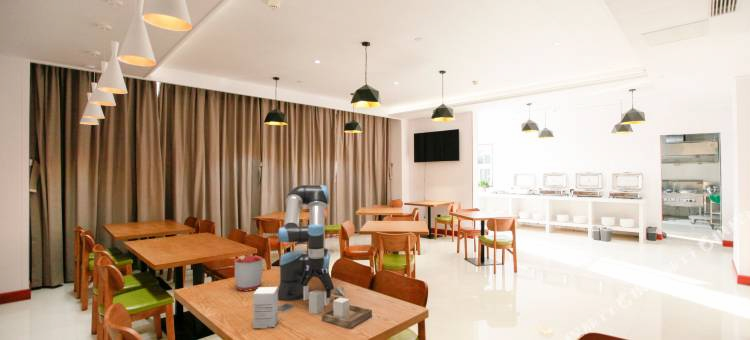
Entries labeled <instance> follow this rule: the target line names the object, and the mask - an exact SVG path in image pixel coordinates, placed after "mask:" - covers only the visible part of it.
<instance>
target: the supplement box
mask: <svg viewBox="0 0 750 340" xmlns="http://www.w3.org/2000/svg"><path fill="white" fill-rule="evenodd" d="M278 289H279V286H259V287H258V289H255V290H254V292H253V293H252V295H253V296H252V299H253V301H252V302H253V303H252V304H253V307H252V308H253V309H252V310H253V311H252V313H253V314H252V316H253V319H252V321H253V323H252V325H253V327H252V328H262V329H264V328H263V327H274V328H275V327H276V325H277V323H278V320H279V311H278V307H279V299H278Z"/></svg>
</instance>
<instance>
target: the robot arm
mask: <svg viewBox="0 0 750 340" xmlns="http://www.w3.org/2000/svg"><path fill="white" fill-rule="evenodd" d="M329 204H330V196H329V191H328V187H327V185H324V184H315V185H314V184H311V185H309V184H308V185H307V184H306V185H305V184H302V185H297V186H295V187H294V188H292V189H291V190H290V191H288V194H287V195H286V198H285V205H286V209H285V216H284V223H283V227H279V228H278V234H277V235H278V236H277V237H278V242H280V243H301V242H302V243H304V242H305V243H307V244H308V245H307V250H306V253H303V251H302V250H294V251H288V252H285V253H283V254H282V255H281V256H280V262H279V271H280V272H279V274H280V275H279V276H280V278H279V280H280V281H279V285H278V300H279V299H280V301H284V302H287V301H292V302H293V301H298V300H301V299H303V301H306V300H309V291H310V290H309V287H310V286H309V285H308V284H309V282H310V281H311V280H312V278H317V279H318V280H319V281H320V283H321V284H322V287H323V288H324V290H323V292H324V307H325V306H329V305H330V302H331V300H330V298H331V296H330V295H331V291H332V290H335V286H334V284H333V280H332V278H331V275H330V271H329V269H330V262H331V261H330V260H331V252H329V251H328V248H326V237H325V235H326V234H325V233H326V232H325V231H326V230H325V223H326V222H325V209H326V208H327V206H328V205H329ZM302 205H304V206H305V205H306V207H307V209H308V210H309V225H308V226H300V216H301V214H300V213H301V207H302Z"/></svg>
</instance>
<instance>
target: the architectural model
mask: <svg viewBox="0 0 750 340" xmlns="http://www.w3.org/2000/svg"><path fill="white" fill-rule="evenodd" d="M345 296H346V295H345V287H344V286H334V293H330V297H333V298H334V300H336V299H338V298H340V297H341V298H345Z"/></svg>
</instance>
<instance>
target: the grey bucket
mask: <svg viewBox="0 0 750 340" xmlns="http://www.w3.org/2000/svg"><path fill="white" fill-rule="evenodd" d="M263 259H264V258H263V256H260V255H259V256H258V255H252V254H250V253H247V254H246V255H245V257H243V259H242V260H241V258H240V257H237V258H235V259H233V261H234V281H235V286H236V288H237V290H238V289H241V290H249V289H255V288H258V287H261V283H262V280H263V279H262V278H263ZM241 290H240V291H241ZM255 290H256V289H255Z"/></svg>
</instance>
